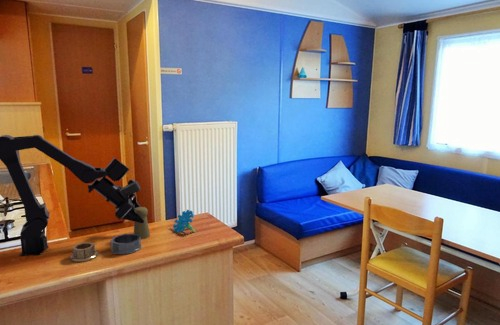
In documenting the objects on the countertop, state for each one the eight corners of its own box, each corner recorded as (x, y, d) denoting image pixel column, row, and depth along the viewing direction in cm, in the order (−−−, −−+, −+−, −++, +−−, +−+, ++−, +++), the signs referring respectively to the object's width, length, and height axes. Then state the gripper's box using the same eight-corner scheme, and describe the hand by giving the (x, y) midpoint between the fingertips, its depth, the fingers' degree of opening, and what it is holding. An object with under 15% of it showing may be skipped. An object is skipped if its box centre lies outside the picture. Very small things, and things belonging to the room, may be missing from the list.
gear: (168, 224, 138) (186, 205, 140) (178, 231, 142) (195, 212, 143) (177, 236, 129) (196, 216, 131) (188, 244, 133) (206, 224, 134)
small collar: (66, 262, 108) (65, 251, 108) (76, 252, 116) (75, 241, 116) (93, 261, 109) (92, 250, 109) (101, 250, 117) (100, 240, 117)
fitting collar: (107, 255, 114) (107, 244, 113) (115, 243, 123) (114, 234, 123) (138, 253, 115) (137, 243, 114) (143, 242, 124) (143, 232, 124)
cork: (145, 239, 127) (143, 210, 125) (130, 238, 128) (128, 209, 126) (153, 233, 132) (151, 205, 131) (138, 232, 134) (136, 205, 132)
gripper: (123, 180, 116) (159, 209, 121) (128, 169, 134) (159, 195, 139) (99, 204, 116) (136, 233, 120) (107, 191, 133) (139, 216, 138)
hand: (144, 218), depth 129 cm, fingers open, 9 cm apart
